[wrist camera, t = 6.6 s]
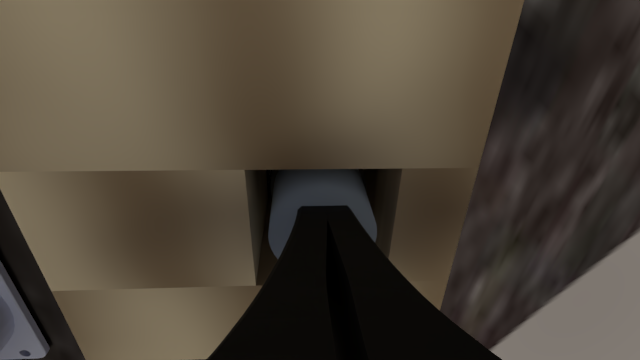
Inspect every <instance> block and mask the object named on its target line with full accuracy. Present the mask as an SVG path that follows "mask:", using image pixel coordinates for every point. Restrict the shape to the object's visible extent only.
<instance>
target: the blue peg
mask: <svg viewBox="0 0 640 360" xmlns="http://www.w3.org/2000/svg"><path fill="white" fill-rule="evenodd" d="M270 190H271V196H272V206H271V214H270V223H269V231H268V239H269V244H270V247H271V250H272V252H273V253H274V255H275V256H276V258H277V259H279V257H280V255H281V253H282V251H283V249H284V247H285V244H286V242H287V240H288V238H289V236H290V233H291V231H292V228H293V226H294V223H295V220H296V216H297V211H298V209H299V208H300V207H301V206H336V205H347V206H348V207H349V208H350V209H351V210H352V212H353V213H354V215H355V216H356V218H357V219H358V221H359V222H360V223H361V225H362V226H363V228H364V229H365V230H366V232H367V233H368V234H369V236H370V237H371V238H372V240H373V241H374V242H375V241H376V237H377V225H376V221H375V218H374V215H373V212H372V209H371V206H370V202H369V199H368V196H367V193H366V180H365V175H364V172H363V169H283V170H272V176H271V184H270Z"/></svg>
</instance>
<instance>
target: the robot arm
mask: <svg viewBox="0 0 640 360" xmlns="http://www.w3.org/2000/svg"><path fill="white" fill-rule="evenodd" d="M49 349H50V348H49V345H48V344H47V342H46V340H45V338H44V337H43V335H42V333H41V331H40V329H39V328H38V326H37V324H36V322H35V321H34V319H33V317H32V315H31V314H30V312H29V310H28V308H27V307H26V305H25V303H24V301H23V300H22V298H21V296H20V294H19V293H18V291H17V289H16V287H15V285H14V284H13V282H12V280H11V278H10V277H9V275H8V273H7V271H6V270H5V268H4V266H3V264H2V263H1V261H0V360H7V359H34V358H43V357H44V356H46V354H47V353H48V351H49ZM206 360H502V359H500V358H499V357H498V356H496V355H495V354H493V353H492V352H491V351H489V350H488V349H487V348H486V347H484V346H483V345H482V344H480V343H479V342H478V341H476V340H475V339H474V338H473V337H471V336H470V335H469V334H467V333H466V332H465V331H464V330H462V329H461V328H460V327H458V326H457V325H456V324H455V323H453V322H452V321H451V320H450V319H449V318H448V317H446V316H445V315H444V314H443V313H442V312H440V311H439V310H438V309H437V308H436V307H435V306H434V305H433V304H432V303H431V302H430V301H428V300H427V299H426V298H425V297H424V296H423V295H422V294H421V293H420V292H419V291H418V290H417V289H416V288H415V287H414V286H413V285H412V284H411V283H410V282H409V281H408V280H407V279H406V278H405V277H404V276H403V275H402V274H401V272H400V271H399V270H398V269H397V268H396V267H395V266H394V265H393V264H392V263H391V261H390V260H389V259H388V258H387V257H386V256H385V254H384V253H383V252H382V251H381V249H380V248H379V247H378V246H377V245H376V243H375V242H374V241H373V240H372V238H371V237H370V236H369V234H368V233H367V232H366V230H365V229H364V228H363V226H362V225H361V223H360V222H359V221H358V219H357V218H356V216H355V215H354V213H353V212H352V210H351V209H350V208H349V207H348V206H347V205H336V206H301V207H300V208H299V209H298V211H297V216H296V220H295V223H294V226H293V228H292V231H291V233H290V236H289V238H288V240H287V242H286V244H285V247H284V249H283V251H282V253H281V255H280V257H279V259H278V261H277V262H276V264H275V266H274V267H273V269H272V271H271V273H270V274H269V276H268V278H267V280H266V281H265V283H264V285H263V286H262V288H261V289H260V291H259V292H258V294H257V295H256V297H255V298H254V300H253V301H252V303H251V304H250V305H249V307H248V308H247V310H246V311H245V312H244V314H243V315H242V317H241V318H240V319H239V320H238V322H237V323H236V324H235V325H234V327H233V328H232V329H231V331H230V332H229V333H228V334H227V336H226V337H225V338H224V340H223V341H222V342H221V343H220V344H219V346H218V347H217V348H216V349H215V350H214V351H213V353H212V354H211V355H210V356H209V357H208V358H207V359H206Z"/></svg>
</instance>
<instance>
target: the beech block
mask: <svg viewBox="0 0 640 360" xmlns="http://www.w3.org/2000/svg"><path fill="white" fill-rule="evenodd" d="M523 3H524V0H0V190H1V192H2V194H3V196H4V198H5V200H6V202H7V204H8V206H9V208H10V210H11V212H12V214H13V216H14V218H15V220H16V222H17V224H18V226H19V228H20V230H21V232H22V234H23V236H24V238H25V240H26V241H27V243H28V245H29V247H30V249H31V251H32V253H33V255H34V257H35V259H36V261H37V263H38V265H39V267H40V269H41V271H42V273H43V275H44V277H45V279H46V281H47V283H48V285H49V287H50V289H51V291H52V293H53V295H54V297H55V299H56V301H57V303H58V305H59V307H60V309H61V311H62V313H63V315H64V317H65V319H66V321H67V323H68V325H69V327H70V329H71V331H72V333H73V335H74V337H75V339H76V341H77V343H78V345H79V347H80V349H81V351H82V353H83V355H84V357H85V359H86V360H192V359H207V358H208V357H209V356H210V355H211V354H212V353H213V351H214V350H215V349H216V348H217V347H218V346H219V344H220V343H221V342H222V341H223V340H224V338H225V337H226V336H227V334H228V333H229V332H230V331H231V329H232V328H233V327H234V325H235V324H236V323H237V322H238V320H239V319H240V318H241V317H242V315H243V314H244V312H245V311H246V310H247V308H248V307H249V305H250V304H251V303H252V301H253V300H254V298H255V297H256V295H257V294H258V292H259V291H260V289H261V288H262V286H263V285H264V283H265V281H266V280H267V278H268V276H269V274H270V273H271V271H272V269H273V267H274V266H275V264H276V262H277V261H278V259H277V258H276V256H275V255H274V253H273V252H272V250H271V247H270V244H269V239H268V231H269V223H270V214H271V206H272V198H268V189H267V173H266V170H283V169H363V172H364V175H365V180H366V193H367V196H368V199H369V202H370V206H371V209H372V212H373V215H374V218H375V221H376V225H377V237H376V241H375V243H376V245H377V246H378V247H379V248H380V249H381V251H382V252H383V253H384V254H385V256H386V257H387V258H388V259H389V260H390V261H391V263H392V264H393V265H394V266H395V267H396V268H397V269H398V270H399V271H400V272H401V274H402V275H403V276H404V277H405V278H406V279H407V280H408V281H409V282H410V283H411V284H412V285H413V286H414V287H415V288H416V289H417V290H418V291H419V292H420V293H421V294H422V295H423V296H424V297H425V298H426V299H427V300H428V301H430V302H431V303H432V304H433V305H434V306H435V307H436V308H437V309H438V310H439V311H440V308H441V304H442V300H443V297H444V293H445V289H446V286H447V282H448V278H449V275H450V271H451V267H452V264H453V260H454V256H455V252H456V249H457V245H458V241H459V238H460V234H461V230H462V227H463V223H464V219H465V216H466V212H467V208H468V205H469V201H470V197H471V194H472V190H473V186H474V183H475V179H476V175H477V172H478V168H479V164H480V161H481V157H482V153H483V150H484V146H485V142H486V139H487V135H488V131H489V128H490V124H491V120H492V117H493V113H494V109H495V106H496V102H497V98H498V95H499V91H500V87H501V84H502V80H503V76H504V73H505V69H506V65H507V62H508V58H509V54H510V51H511V47H512V43H513V40H514V36H515V32H516V28H517V25H518V21H519V17H520V14H521V10H522V6H523Z"/></svg>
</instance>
